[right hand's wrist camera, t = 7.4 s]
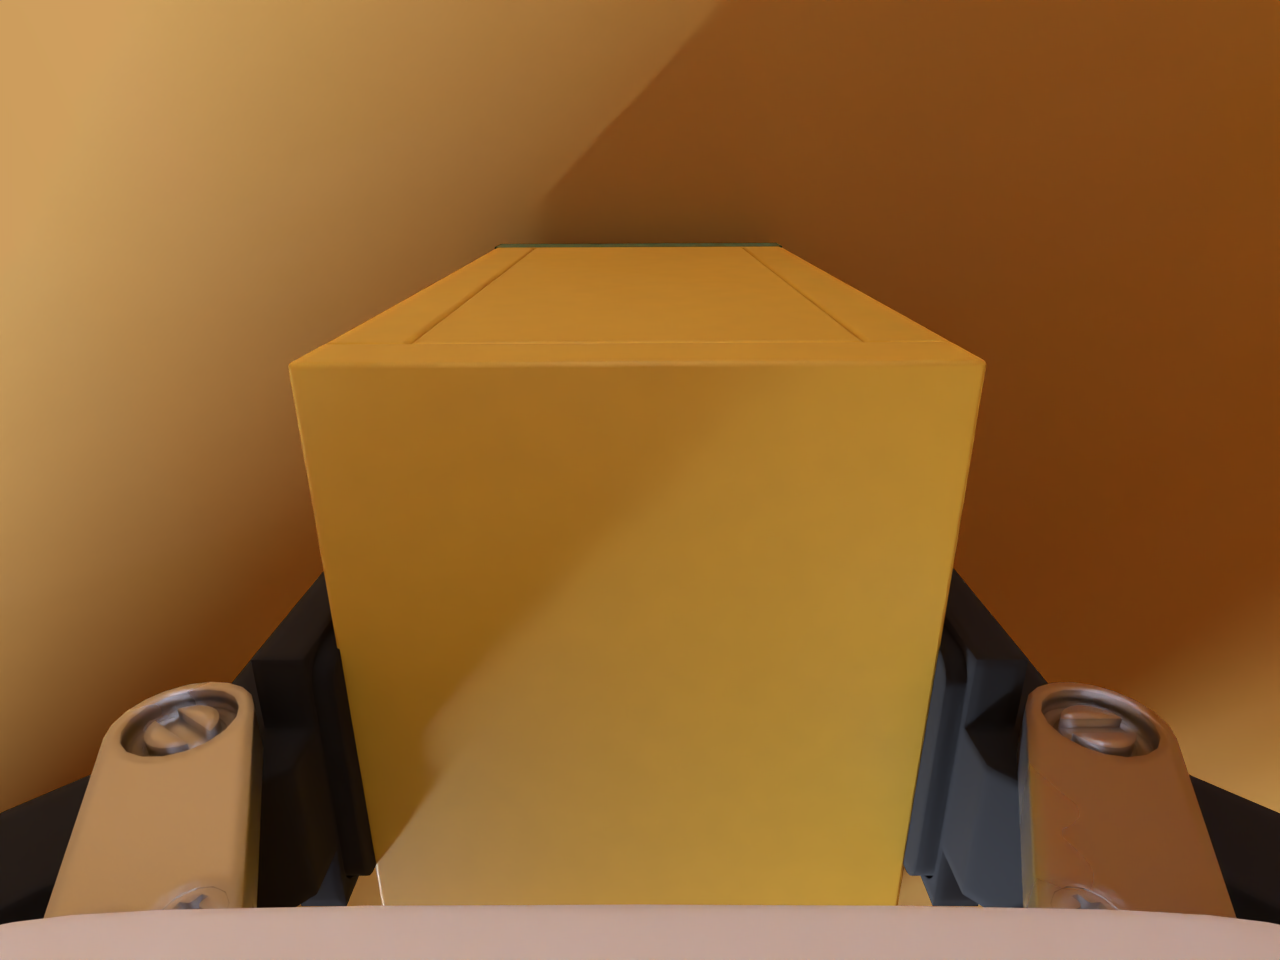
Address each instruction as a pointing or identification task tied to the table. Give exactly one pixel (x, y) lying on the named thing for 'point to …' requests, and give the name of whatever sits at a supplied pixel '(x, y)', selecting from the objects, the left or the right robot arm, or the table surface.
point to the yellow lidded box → (638, 574)
